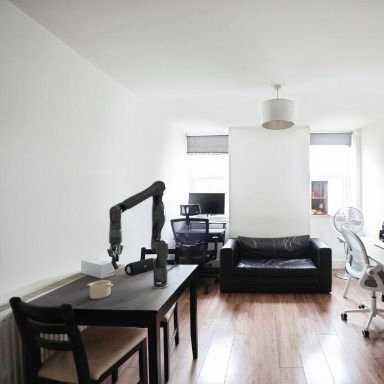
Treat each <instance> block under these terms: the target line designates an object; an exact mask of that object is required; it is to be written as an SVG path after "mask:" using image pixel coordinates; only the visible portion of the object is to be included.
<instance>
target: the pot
mask: <svg viewBox="0 0 384 384" xmlns="http://www.w3.org/2000/svg"><path fill="white" fill-rule="evenodd" d="M113 286H114V283H111V280H108V279H104V280H103V279H101V280H96V281H93V282H90V283H87V287H89V298H90V299H93V300H95V299H102V298H106V297H108V296H110V295H111V290H112V289H111V287H113Z"/></svg>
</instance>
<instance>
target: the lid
mask: <svg viewBox="0 0 384 384" xmlns="http://www.w3.org/2000/svg"><path fill="white" fill-rule="evenodd" d="M110 261H111V263H112V260H110ZM127 264H128V263H124V264H123V265H120V266H119V265H118V262H116V263H112V265H113V267H114V270H112V271H111V272H109V273H107V275H108V274H110V273H111V274H112V273H114V274H115V273H116V272H118V271H120V270H122V269H125V266H126V265H127Z"/></svg>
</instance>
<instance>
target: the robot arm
mask: <svg viewBox="0 0 384 384" xmlns="http://www.w3.org/2000/svg"><path fill="white" fill-rule="evenodd" d="M166 189H167V184H166V183H165V182H164V181H163V180H155V181H153V182H152V183H151V184H150V185H149V186H148V187H147V188H145V189H143V190H141V191H139V192H136V193H135V194H133V195H131V196H129V197H127V198H125V199H124V200H123V201H121V202H118V203H116V204H114V205H112V206H111V207H110V208H109V211H108V213H109V215H108V216H109V223H108V224H109V231H108V244H110V245H109V248H107V249H106V251H107V254H108V256H109V257H110V258H111V261H112V263H118V262H119V261H120V255H121V254H122V253H123V249H124V245H122V244H121V243H122V242H123V230H122V214H123V213H125V212H126V211H129V210H131V209H132V208H135V207H136V206H138V205H140V204H141V203H143V202H144V201H146V200H147V199H150V198H151V197H152V204H151V237H150V239H151V240H150V250H151V251H152V252H153V253H156V257H153V258H154V259H153V269H152V270H153V272H152V276H153V278H152V279H153V280H152V281H153V282H152V283H153V284H152V285H153V286H152V287H153V288H154V289H159V290H160V289H165V288H167V287H168V285H169V284H168V283H169V281H168V271H170V270H171V269H173V268H175V267H176V266H177V263H176V261H173V262H174V263H173V264H174V265H173V266H172V267H170V268H168V258H169V243H168V242H167V240H164V239H162V232H163V231H162V230H163V229H164V226H165V224H166V207H165V202H164V194H165V191H166Z"/></svg>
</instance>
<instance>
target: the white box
mask: <svg viewBox="0 0 384 384" xmlns="http://www.w3.org/2000/svg"><path fill="white" fill-rule="evenodd" d="M111 261H112V260H107V259H104V258H103V259H102V258H99V257H89V258H84V259H80V273H81V274H84V275H88V276H90V277H94V278H98V279H101V280H103V279H105V278H108V277H109V278H110V277H112V276H115V272H114V273H112V274H111V273H110V274H108V275H107V273H109V272H111V271H112V270H114V267H113V265H112V263H111Z"/></svg>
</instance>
